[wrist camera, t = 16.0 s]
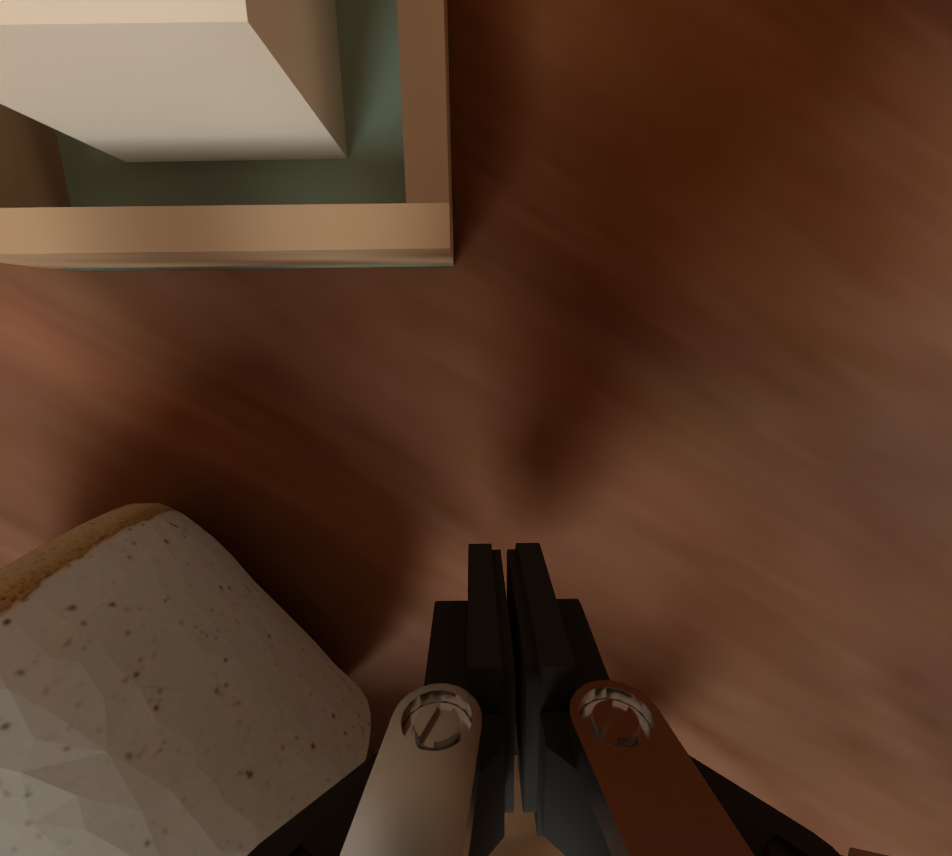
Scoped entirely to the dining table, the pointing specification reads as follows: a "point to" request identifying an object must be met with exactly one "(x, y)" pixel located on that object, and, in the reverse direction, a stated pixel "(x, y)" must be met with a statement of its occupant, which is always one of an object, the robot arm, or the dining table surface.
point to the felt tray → (258, 177)
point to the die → (179, 76)
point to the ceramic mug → (159, 697)
